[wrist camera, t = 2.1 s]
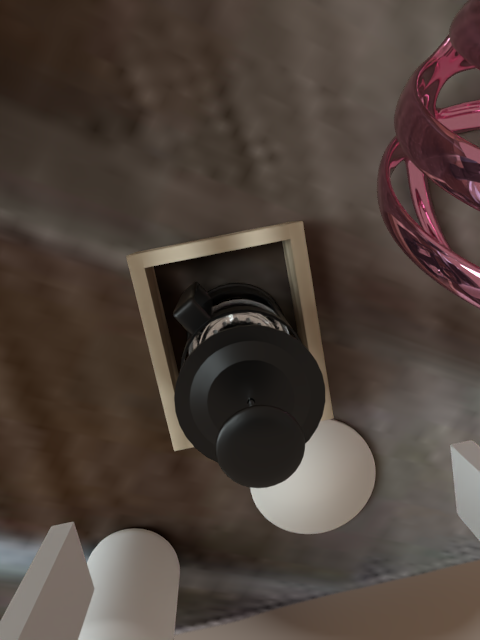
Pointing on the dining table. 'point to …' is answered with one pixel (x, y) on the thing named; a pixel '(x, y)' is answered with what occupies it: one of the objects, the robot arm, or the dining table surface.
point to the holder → (146, 260)
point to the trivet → (322, 483)
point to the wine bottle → (132, 588)
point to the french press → (246, 384)
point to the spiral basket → (436, 158)
